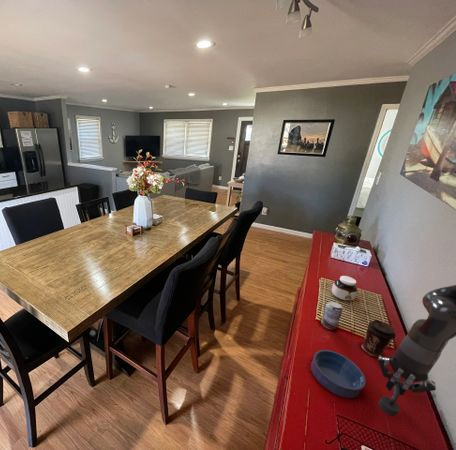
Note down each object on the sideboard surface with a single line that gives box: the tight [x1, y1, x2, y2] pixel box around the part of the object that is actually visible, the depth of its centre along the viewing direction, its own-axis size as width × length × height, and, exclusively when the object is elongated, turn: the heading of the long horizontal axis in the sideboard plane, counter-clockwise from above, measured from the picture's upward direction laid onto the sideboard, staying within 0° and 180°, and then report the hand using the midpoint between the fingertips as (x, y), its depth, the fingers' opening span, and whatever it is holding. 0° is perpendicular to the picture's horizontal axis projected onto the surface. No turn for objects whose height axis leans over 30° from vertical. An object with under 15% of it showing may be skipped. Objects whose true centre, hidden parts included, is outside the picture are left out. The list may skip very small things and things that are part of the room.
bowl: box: [310, 349, 366, 399], centre depth 87 cm, size 15×15×5 cm
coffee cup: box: [361, 319, 397, 357], centre depth 97 cm, size 9×8×13 cm
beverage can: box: [320, 301, 343, 330], centre depth 109 cm, size 6×7×12 cm
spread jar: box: [331, 275, 358, 302], centre depth 130 cm, size 12×11×12 cm
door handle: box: [377, 377, 402, 417], centre depth 77 cm, size 15×4×7 cm, turn 134°
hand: (393, 390), depth 77 cm, fingers closed on door handle, 1 cm apart
